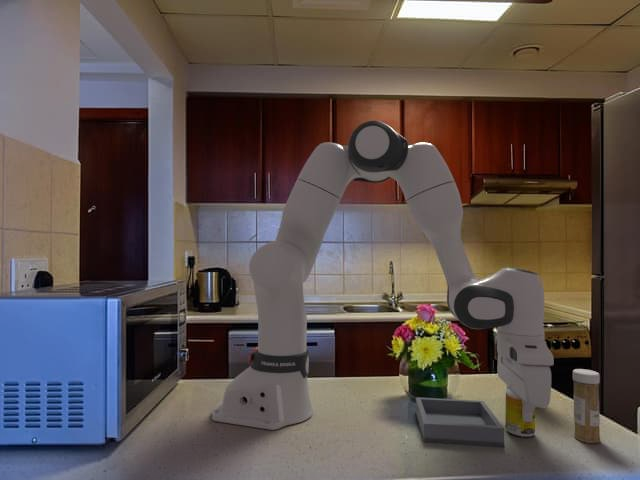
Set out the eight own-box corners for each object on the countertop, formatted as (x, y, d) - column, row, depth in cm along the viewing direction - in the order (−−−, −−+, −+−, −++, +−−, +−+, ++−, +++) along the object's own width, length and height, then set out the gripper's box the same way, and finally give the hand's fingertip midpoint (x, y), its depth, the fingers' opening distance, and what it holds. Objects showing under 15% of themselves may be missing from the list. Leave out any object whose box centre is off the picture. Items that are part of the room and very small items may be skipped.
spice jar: (603, 445, 80) (603, 375, 81) (577, 442, 82) (576, 373, 82) (596, 436, 84) (595, 369, 85) (570, 433, 86) (569, 367, 86)
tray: (423, 441, 81) (423, 423, 81) (415, 412, 96) (415, 397, 96) (504, 447, 79) (504, 428, 79) (483, 416, 94) (483, 400, 94)
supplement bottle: (525, 440, 82) (525, 387, 82) (499, 430, 86) (499, 380, 87) (541, 434, 85) (541, 383, 85) (515, 424, 89) (515, 376, 90)
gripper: (490, 335, 97) (490, 395, 96) (521, 357, 77) (521, 433, 76) (518, 336, 96) (518, 397, 96) (558, 359, 76) (558, 436, 75)
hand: (520, 413), depth 86 cm, fingers closed on supplement bottle, 6 cm apart
